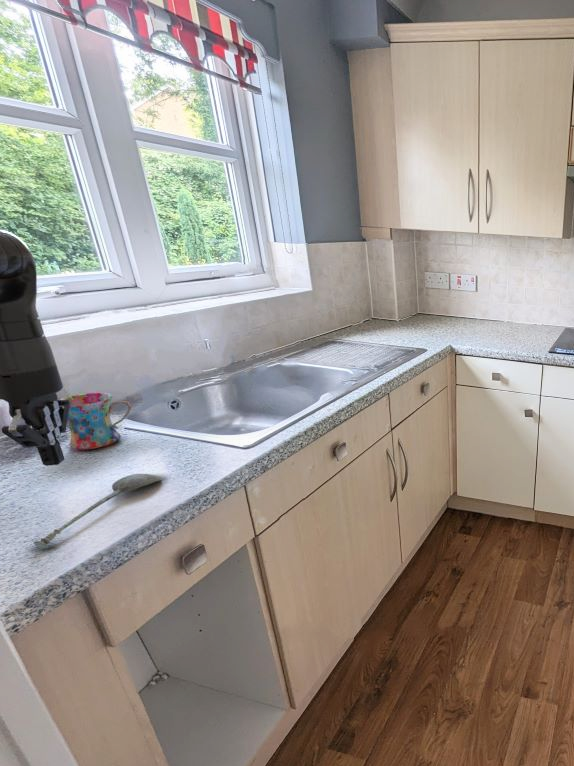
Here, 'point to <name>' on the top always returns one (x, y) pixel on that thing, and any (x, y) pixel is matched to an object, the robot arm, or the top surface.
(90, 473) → the top surface
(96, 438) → the mug
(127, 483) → the soupspoon
